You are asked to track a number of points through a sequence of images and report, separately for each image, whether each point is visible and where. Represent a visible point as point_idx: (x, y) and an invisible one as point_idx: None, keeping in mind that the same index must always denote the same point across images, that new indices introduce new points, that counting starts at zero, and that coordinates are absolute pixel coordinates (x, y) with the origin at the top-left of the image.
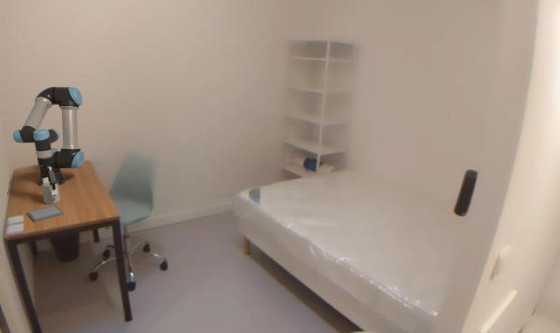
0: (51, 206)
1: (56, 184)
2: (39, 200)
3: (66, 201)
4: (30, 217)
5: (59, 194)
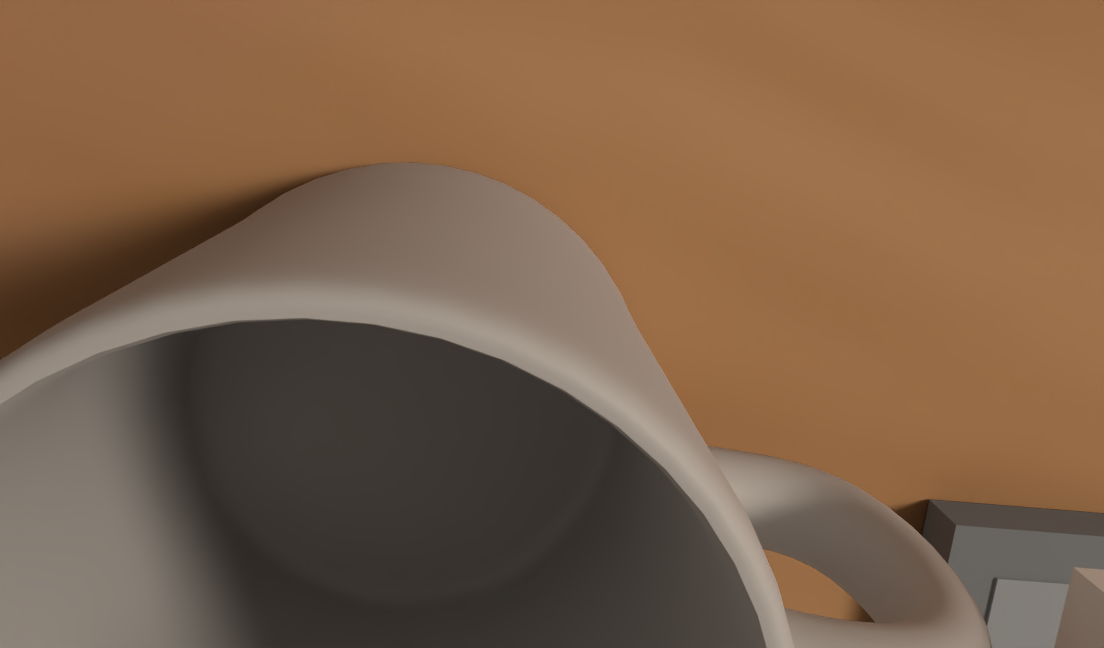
0: None
1: (723, 503)
2: None
3: (777, 123)
4: None
5: (564, 244)
